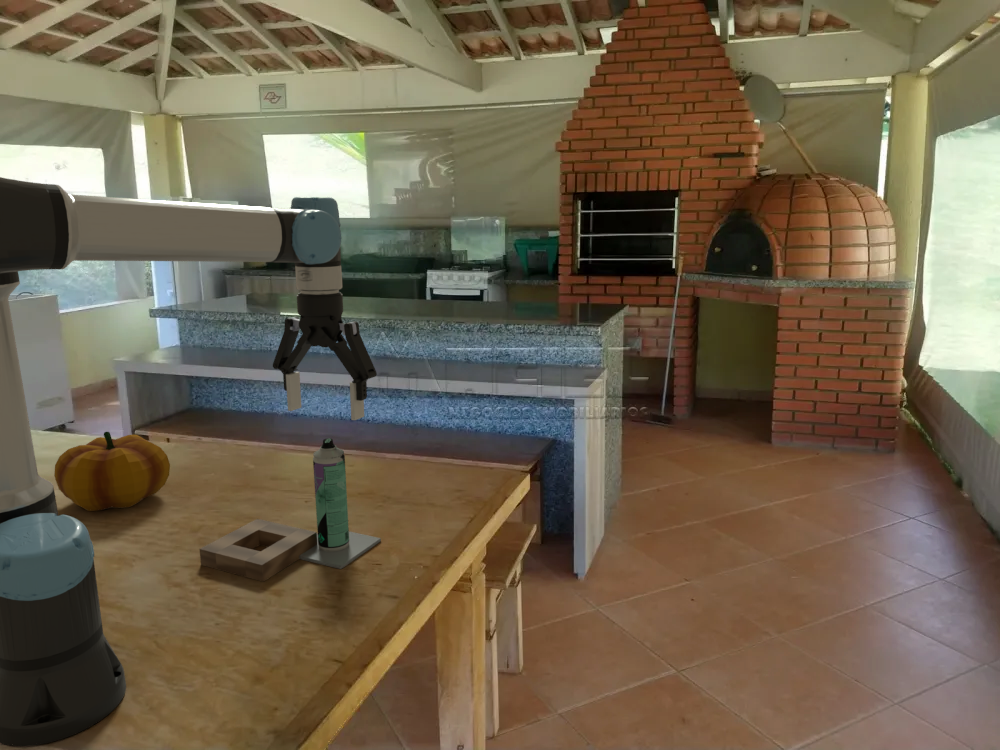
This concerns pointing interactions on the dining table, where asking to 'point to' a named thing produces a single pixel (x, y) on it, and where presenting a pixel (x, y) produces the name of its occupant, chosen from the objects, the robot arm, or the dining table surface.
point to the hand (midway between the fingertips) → (325, 413)
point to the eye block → (242, 560)
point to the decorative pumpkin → (111, 472)
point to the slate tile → (341, 551)
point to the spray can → (331, 497)
